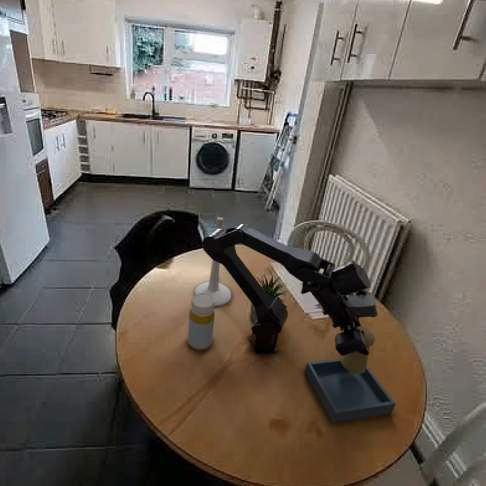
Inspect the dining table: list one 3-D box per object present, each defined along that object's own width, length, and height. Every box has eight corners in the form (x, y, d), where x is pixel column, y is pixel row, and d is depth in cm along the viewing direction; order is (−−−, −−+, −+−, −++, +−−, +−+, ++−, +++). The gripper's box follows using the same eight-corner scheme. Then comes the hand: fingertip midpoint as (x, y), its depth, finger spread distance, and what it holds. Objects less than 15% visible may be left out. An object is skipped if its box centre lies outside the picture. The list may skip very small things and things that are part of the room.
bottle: (215, 338, 91) (220, 296, 85) (205, 355, 85) (209, 311, 79) (194, 329, 93) (197, 288, 87) (183, 345, 87) (185, 302, 81)
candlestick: (187, 294, 108) (191, 215, 97) (210, 279, 118) (217, 206, 106) (215, 311, 101) (223, 229, 90) (238, 294, 110) (248, 218, 99)
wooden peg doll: (336, 354, 82) (347, 322, 78) (357, 354, 83) (369, 322, 79) (348, 374, 77) (360, 341, 73) (370, 373, 78) (383, 340, 73)
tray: (332, 423, 70) (335, 412, 69) (304, 371, 82) (307, 362, 81) (391, 414, 73) (395, 403, 72) (356, 365, 85) (359, 356, 84)
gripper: (367, 310, 64) (408, 367, 65) (357, 265, 80) (390, 311, 82) (319, 329, 69) (358, 380, 70) (318, 283, 85) (350, 325, 87)
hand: (365, 346), depth 77 cm, fingers closed on wooden peg doll, 5 cm apart
